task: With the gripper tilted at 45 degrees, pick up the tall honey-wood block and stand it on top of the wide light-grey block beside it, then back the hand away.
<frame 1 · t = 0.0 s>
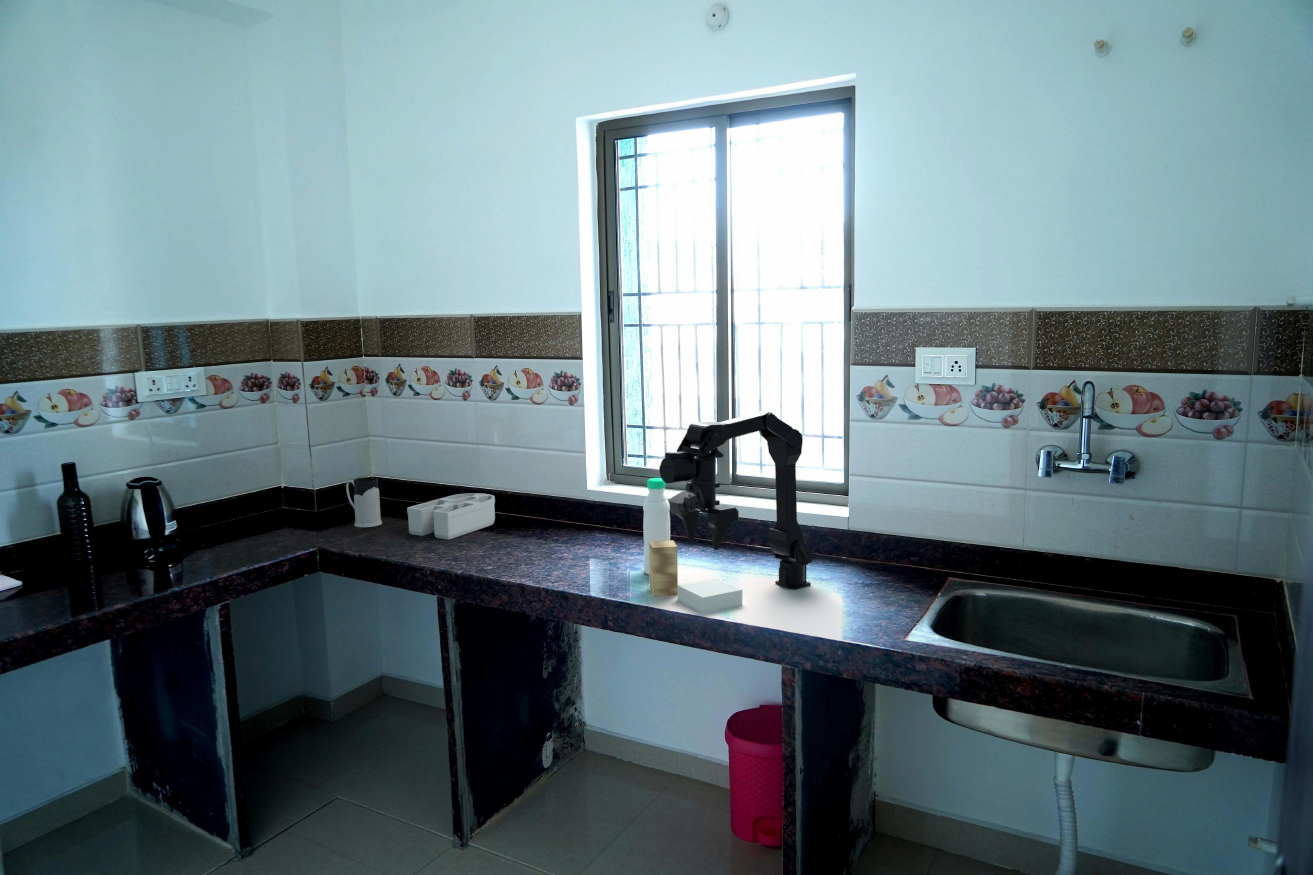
hand: (703, 545, 202), 15 cm above the worktop, tool pointing down, fingers open, 9 cm apart
water bottle: (657, 573, 231), on the worktop
honey wood block: (663, 591, 215), on the worktop
white compartment organizer: (458, 528, 284), on the worktop
white and grey pitcher: (362, 523, 291), on the worktop
grey base block: (709, 603, 207), on the worktop
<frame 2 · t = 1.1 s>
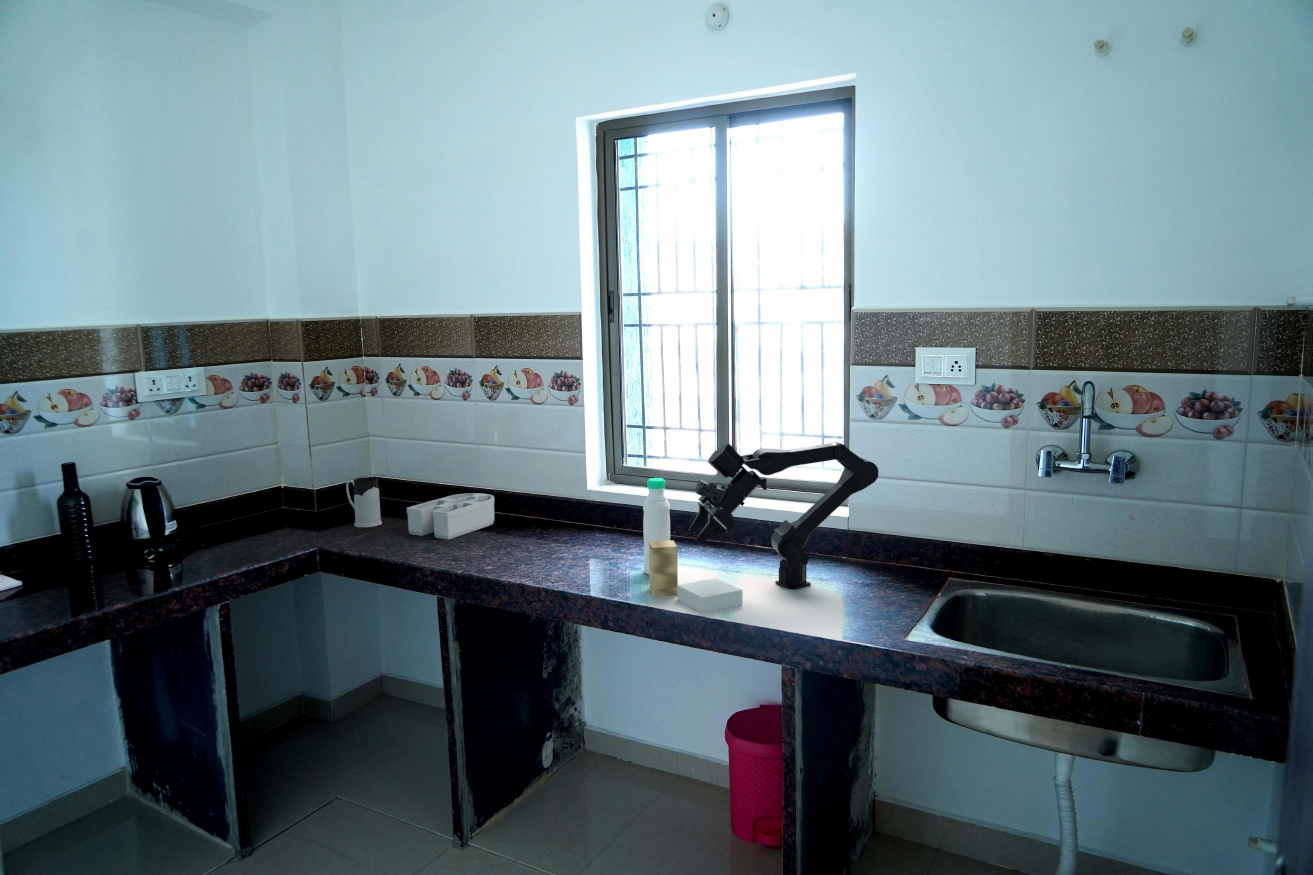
hand: (693, 536, 214), 13 cm above the worktop, tool tilted 45°, fingers open, 9 cm apart
nothing on the worktop moved.
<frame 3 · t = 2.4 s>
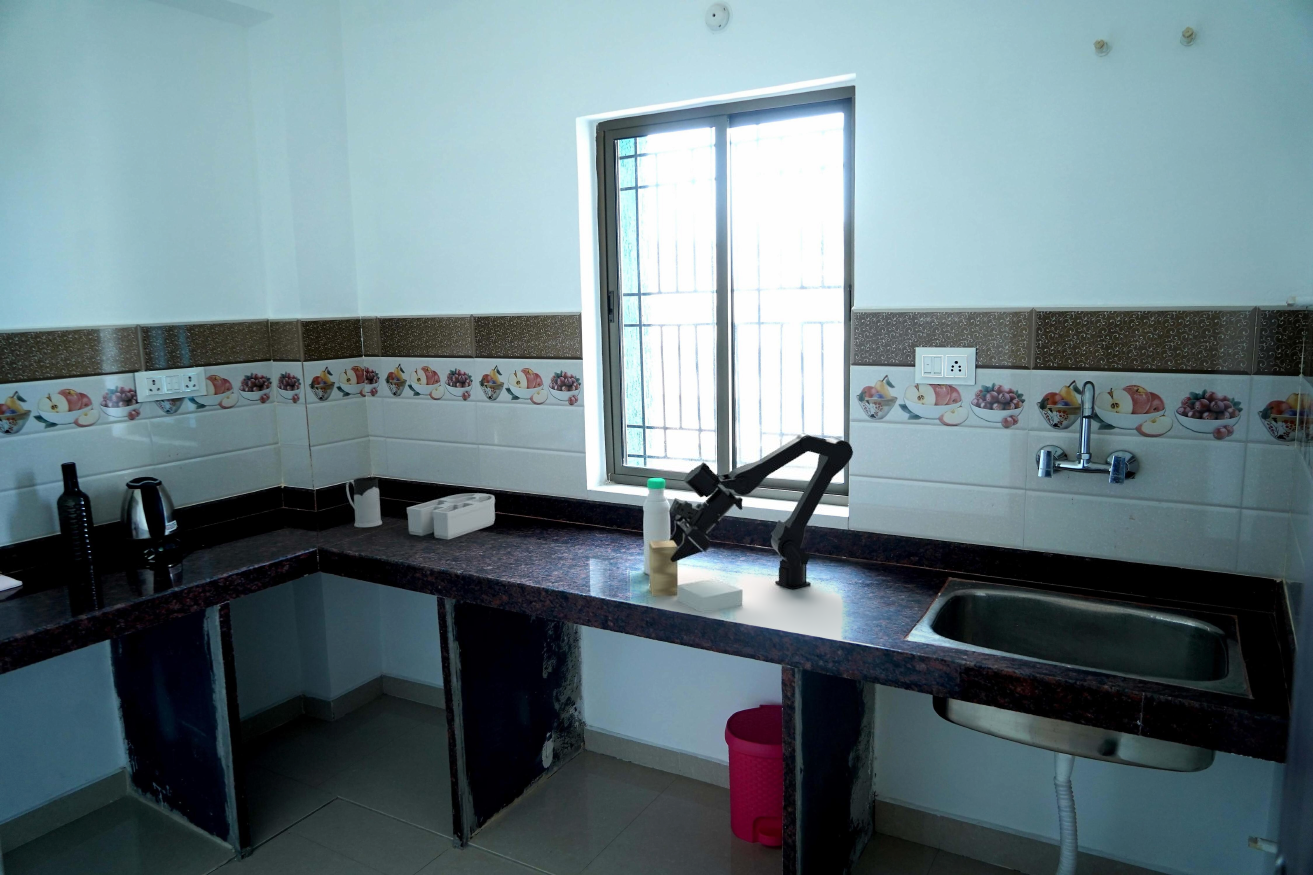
hand: (668, 555, 214), 9 cm above the worktop, tool tilted 45°, fingers open, 9 cm apart
nothing on the worktop moved.
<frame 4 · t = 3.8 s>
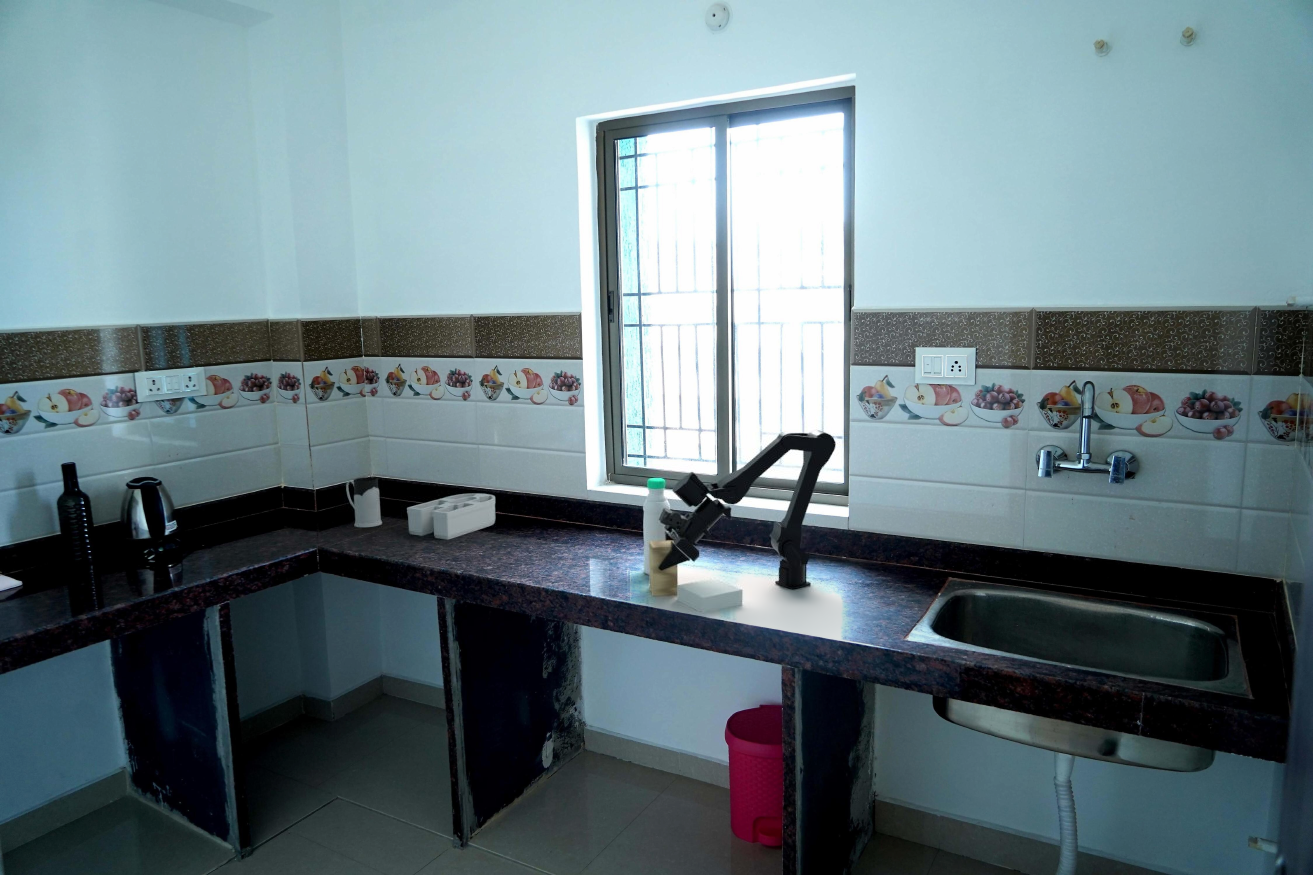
hand: (657, 565, 214), 7 cm above the worktop, tool tilted 45°, fingers closed on honey wood block, 6 cm apart
honey wood block: (663, 591, 215), on the worktop, touching gripper
everything else where it was.
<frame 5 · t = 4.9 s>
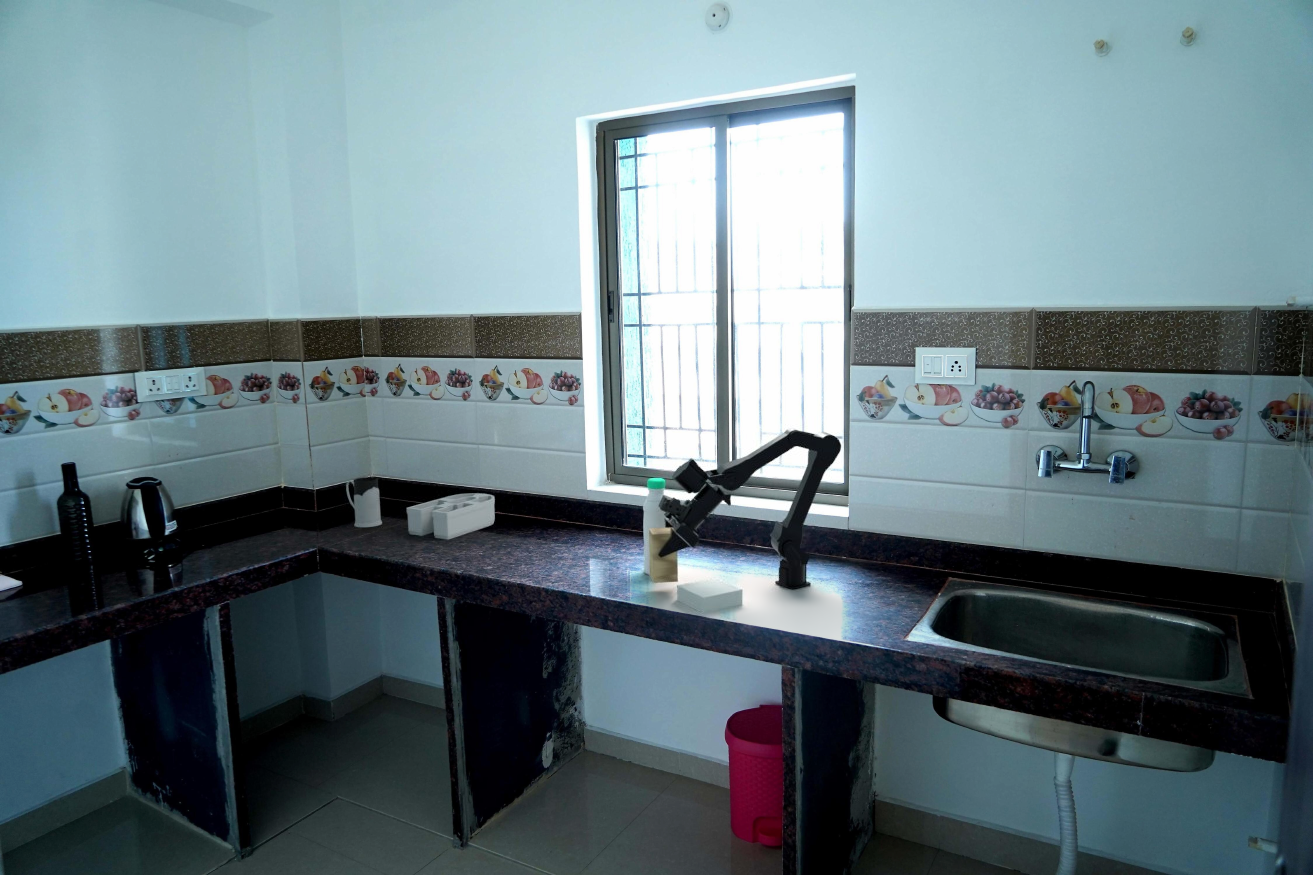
hand: (657, 552, 214), 10 cm above the worktop, tool tilted 45°, fingers closed on honey wood block, 6 cm apart
honey wood block: (663, 578, 215), point 3 cm above the worktop, touching gripper
everything else where it was.
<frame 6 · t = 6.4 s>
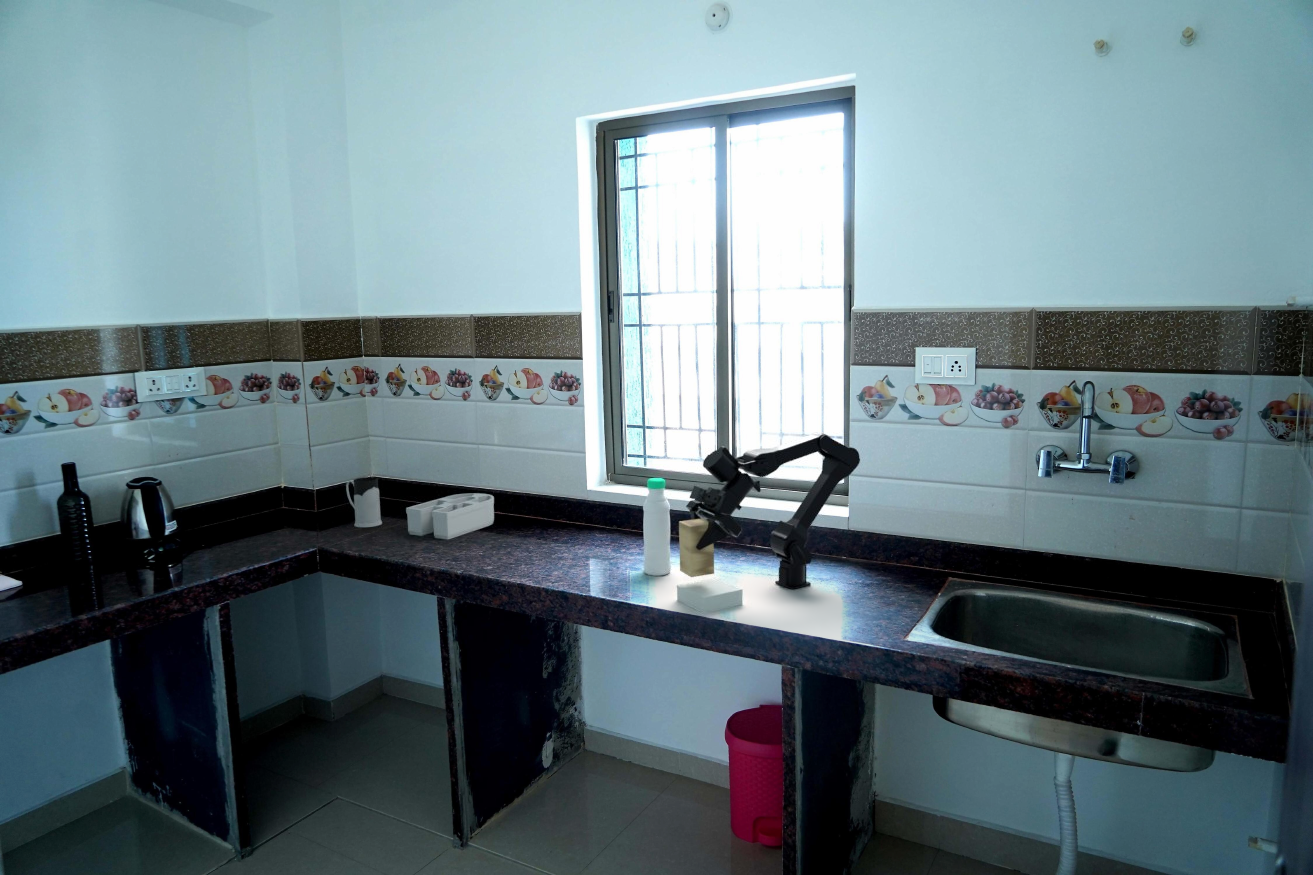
hand: (691, 545, 206), 13 cm above the worktop, tool tilted 45°, fingers closed on honey wood block, 6 cm apart
honey wood block: (697, 572, 208), point 7 cm above the worktop, touching gripper
everything else where it was.
when the fingers open (11 cm above the worktop, at t = 7.7 s): honey wood block drops 1 cm, resting on grey base block.
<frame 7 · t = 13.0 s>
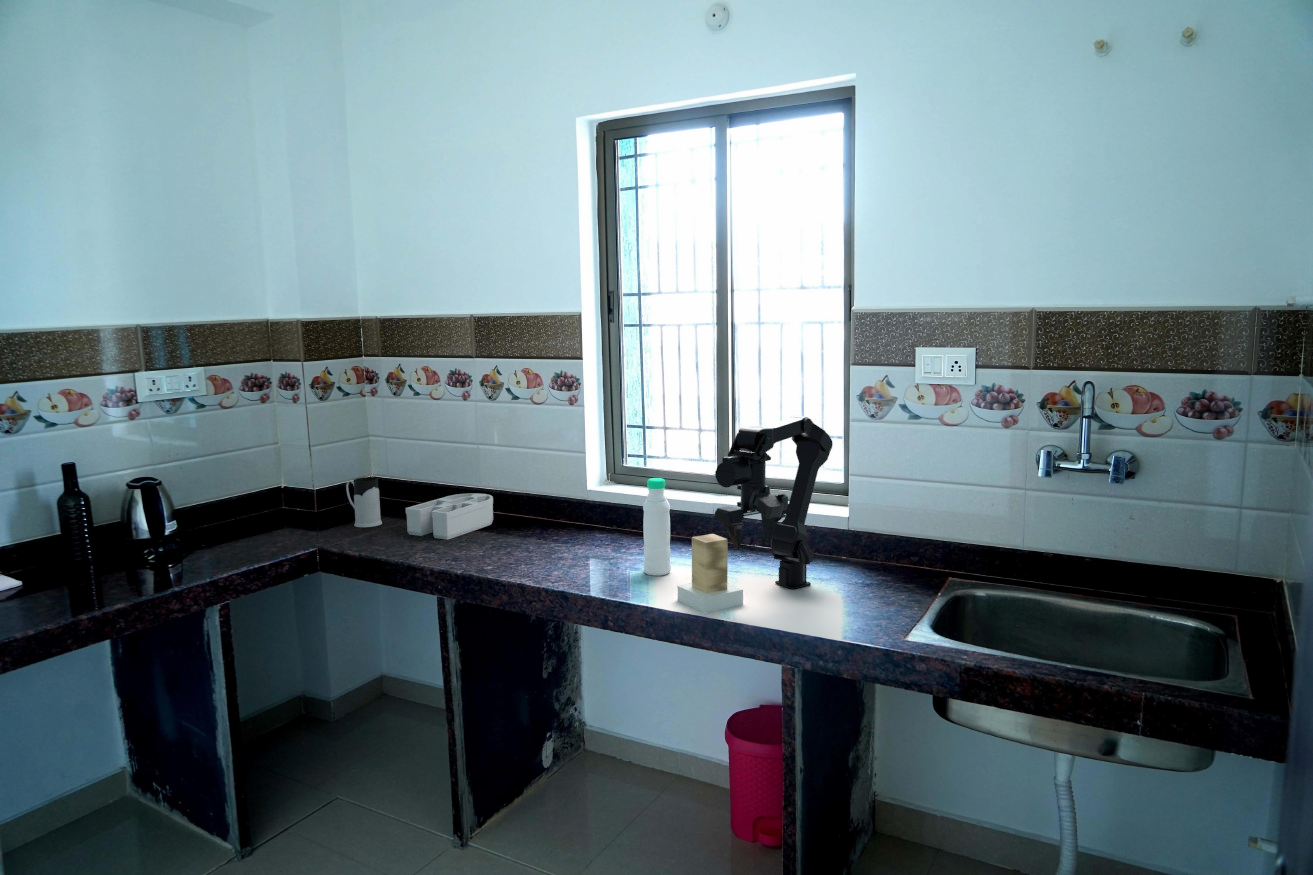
hand: (752, 546, 206), 13 cm above the worktop, tool pointing down, fingers open, 9 cm apart
honey wood block: (709, 587, 206), point 3 cm above the worktop, touching grey base block
grey base block: (710, 603, 207), on the worktop, touching honey wood block
everything else where it was.
at the end: honey wood block inside the target area on the grey base block (0.4 cm from its centre), point 4.1 cm above the grey base block's base; honey wood block tilted 1°; the gripper is holding nothing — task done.
